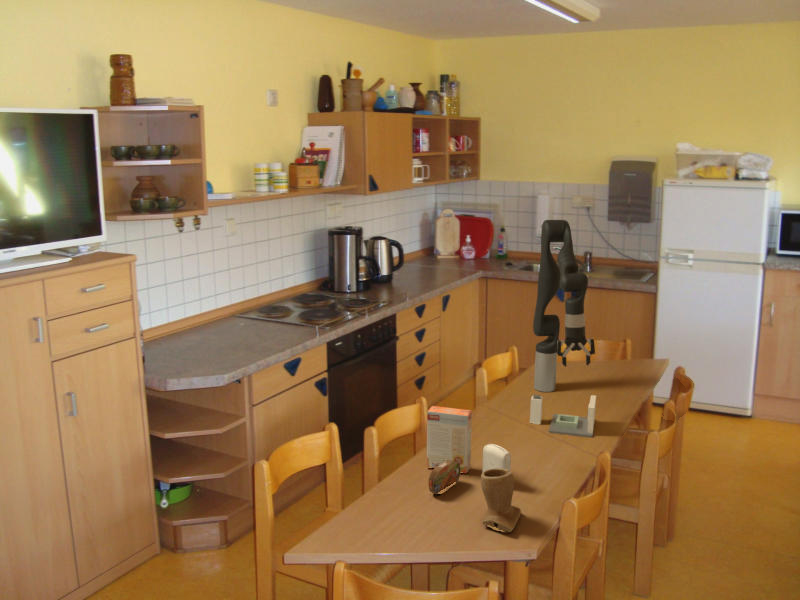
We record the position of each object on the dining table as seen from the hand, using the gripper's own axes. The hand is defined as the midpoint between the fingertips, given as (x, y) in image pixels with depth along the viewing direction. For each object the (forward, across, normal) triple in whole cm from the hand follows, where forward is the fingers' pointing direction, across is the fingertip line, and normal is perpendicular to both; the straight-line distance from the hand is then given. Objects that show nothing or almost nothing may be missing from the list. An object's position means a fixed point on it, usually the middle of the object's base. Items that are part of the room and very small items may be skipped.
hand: (576, 365), depth 302 cm
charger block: (+21, +17, +4) cm, 27 cm away
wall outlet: (+22, +3, +7) cm, 23 cm away
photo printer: (+22, +36, +56) cm, 70 cm away
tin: (+21, +52, +62) cm, 84 cm away
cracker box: (+20, +51, +47) cm, 72 cm away
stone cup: (+23, +36, +81) cm, 92 cm away
